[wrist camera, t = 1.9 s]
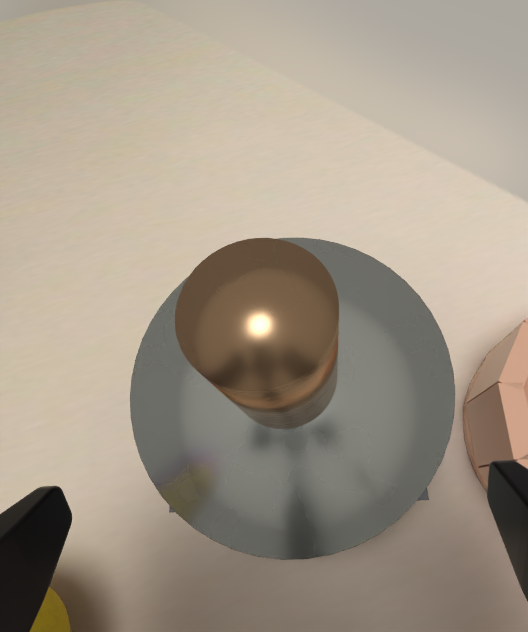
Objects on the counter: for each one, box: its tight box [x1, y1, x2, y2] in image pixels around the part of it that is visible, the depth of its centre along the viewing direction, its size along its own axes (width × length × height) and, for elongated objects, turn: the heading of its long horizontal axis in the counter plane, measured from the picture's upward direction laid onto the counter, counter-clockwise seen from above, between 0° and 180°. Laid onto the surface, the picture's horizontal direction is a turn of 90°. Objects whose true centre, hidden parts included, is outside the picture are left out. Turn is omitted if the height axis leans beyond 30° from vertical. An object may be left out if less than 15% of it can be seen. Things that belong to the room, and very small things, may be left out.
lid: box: [130, 238, 455, 560], centre depth 13 cm, size 12×12×7 cm
